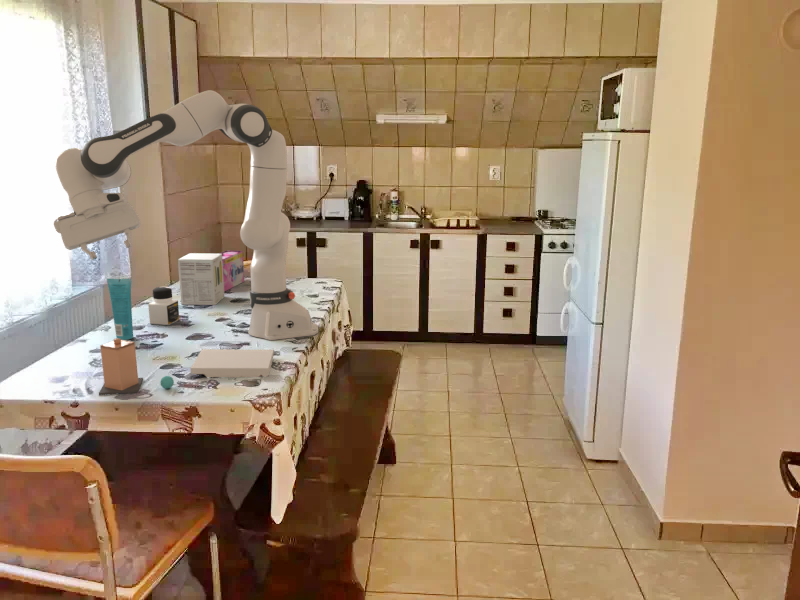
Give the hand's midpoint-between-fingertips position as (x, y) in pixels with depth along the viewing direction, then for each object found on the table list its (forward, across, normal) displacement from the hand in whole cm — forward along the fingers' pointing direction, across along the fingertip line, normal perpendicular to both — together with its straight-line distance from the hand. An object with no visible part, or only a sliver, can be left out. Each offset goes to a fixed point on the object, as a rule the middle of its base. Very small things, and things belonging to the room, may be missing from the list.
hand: (112, 252), depth 179 cm
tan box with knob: (+35, -12, -6) cm, 37 cm away
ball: (+40, -2, -11) cm, 42 cm away
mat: (+35, -12, -6) cm, 38 cm away
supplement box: (+11, +29, +70) cm, 77 cm away
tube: (+18, -4, +34) cm, 39 cm away
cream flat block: (+43, +16, -3) cm, 46 cm away
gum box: (+6, +43, +90) cm, 100 cm away
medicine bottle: (+16, +10, +47) cm, 51 cm away
